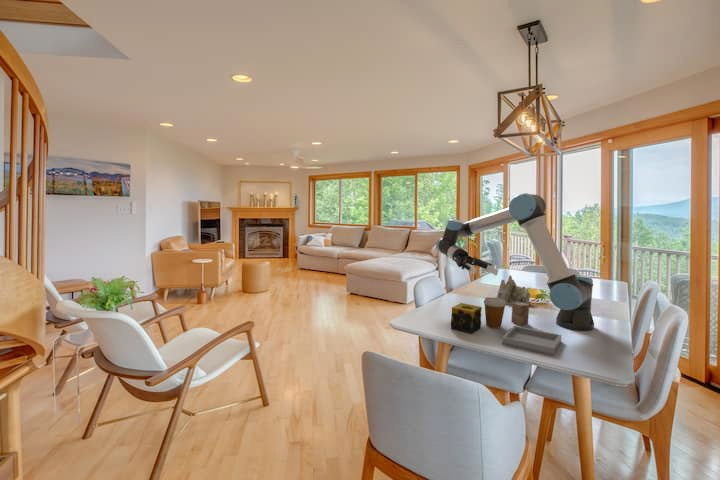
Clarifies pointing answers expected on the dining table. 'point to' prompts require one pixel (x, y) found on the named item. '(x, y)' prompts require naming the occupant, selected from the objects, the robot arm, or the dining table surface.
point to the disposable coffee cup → (494, 311)
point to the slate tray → (532, 340)
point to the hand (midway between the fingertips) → (486, 272)
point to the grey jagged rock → (513, 292)
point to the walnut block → (520, 313)
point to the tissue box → (466, 318)
